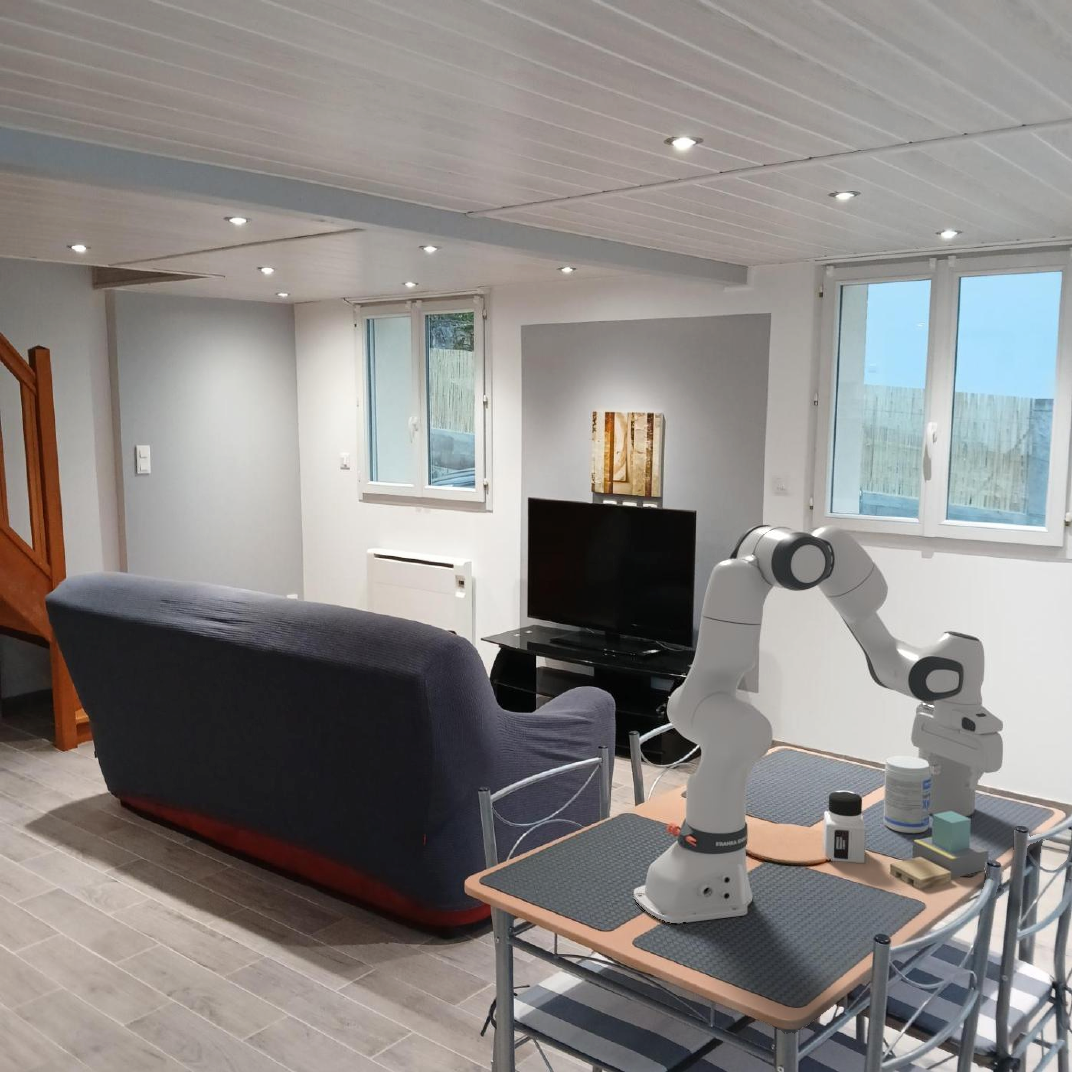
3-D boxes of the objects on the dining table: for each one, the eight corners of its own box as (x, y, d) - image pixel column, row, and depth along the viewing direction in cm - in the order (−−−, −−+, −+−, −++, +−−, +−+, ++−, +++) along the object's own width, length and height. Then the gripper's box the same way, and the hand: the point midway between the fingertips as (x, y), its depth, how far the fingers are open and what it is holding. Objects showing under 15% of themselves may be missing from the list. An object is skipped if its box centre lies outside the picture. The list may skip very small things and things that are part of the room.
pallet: (920, 889, 203) (920, 879, 202) (889, 873, 210) (890, 863, 209) (951, 881, 206) (951, 872, 206) (919, 866, 213) (920, 856, 213)
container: (864, 864, 214) (867, 802, 213) (825, 860, 216) (827, 799, 214) (861, 848, 222) (863, 788, 220) (822, 845, 223) (824, 786, 222)
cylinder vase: (979, 806, 246) (984, 701, 243) (967, 823, 236) (973, 713, 233) (923, 795, 253) (928, 693, 250) (910, 811, 243) (914, 705, 240)
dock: (950, 879, 207) (951, 858, 207) (912, 859, 216) (913, 840, 216) (987, 869, 212) (988, 850, 211) (948, 851, 221) (949, 832, 220)
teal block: (950, 852, 210) (952, 823, 209) (931, 843, 215) (932, 814, 214) (969, 848, 212) (970, 819, 212) (949, 839, 217) (951, 810, 216)
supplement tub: (932, 836, 228) (935, 770, 227) (887, 833, 230) (889, 767, 228) (923, 819, 238) (926, 756, 236) (879, 817, 239) (882, 753, 238)
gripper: (906, 701, 218) (902, 767, 220) (986, 728, 200) (981, 799, 201) (928, 699, 221) (924, 763, 222) (1010, 725, 203) (1005, 795, 204)
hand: (952, 780), depth 212 cm, fingers open, 8 cm apart
